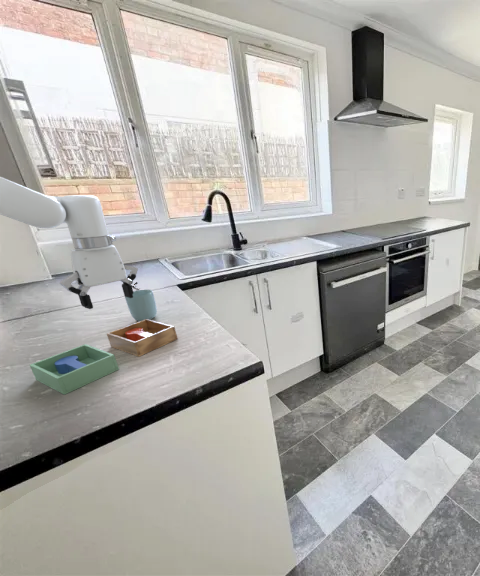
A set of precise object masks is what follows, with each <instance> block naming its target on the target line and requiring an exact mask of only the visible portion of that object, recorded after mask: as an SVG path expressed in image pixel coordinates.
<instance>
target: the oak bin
mask: <svg viewBox="0 0 480 576" xmlns="http://www.w3.org/2000/svg"><path fill="white" fill-rule="evenodd" d="M134 328H143V331H144V332H147V333H151V334H153V335H150V336H148V337H145V338H143V339H140V340H138V341H136V342H135V341H132V340H129V339H127V337H126V334H125V332H126V331H128V330H131V329H134ZM106 336H107V339H108V342H109V345H110V347H111V348H112V349H113V348H114V349H116V350H119V351H121V352H124V353H127V354H130V355H133V356H136V357H138V358H140V357H142V356H144V355H146V354H148V353H150V352H153V351H154V350H155V351H156V350H157V349H159V348H161V347H163V346H166V345H169V344H171V343H173V342H174V341H177V340H178V339H179V338H178V335H177V331H176V328H175V326H174V325H171V324H168V323H163V322H160V321H157V320H153V319H150V320H149V319H145V320H142V321H136V322H134V323H131V324H128V325H126V326H123V327H121V328H118V329H115V330H113V331H110V332H107V333H106Z"/></svg>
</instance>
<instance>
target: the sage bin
mask: <svg viewBox="0 0 480 576" xmlns="http://www.w3.org/2000/svg"><path fill="white" fill-rule="evenodd" d="M68 356H78V359H79V361H80V362H81V363H84V364H86V366H84V367H81V368H79V369H76V370H74V371H72V372H69V373H66V374H59V373H58V371H57V369H56V367H55V364H54V363H55V362H56V361H57V360H59V359H61V358H64V357H68ZM29 368H30V370H31V372H32V374H33V376H34V378H35V380H36V382H37V381H38V382H39V383H41V384H42V385H45V386H47V387H49V388H50V389H52V390H54V391H56V392H58V393H60V394H62V395H67V394H69V393H72V392H73V391H75V390H78V389H80V388H82V387H84V386H86V385H88V384H89V385H90V384H91V383H93V382H95V381H97V380H99V379H102V378H103V377H106V376H109V375H110V374H112V373H114V372H117V371H119V370H120V367H119V365H118V362H117V359H116V355H115V354H113V353H111V352H109V351H106V350H103V349H100V348H97V347H94V346H92V345H91V344H90V345H89V344H87V343H84V344H82V345H79V346H76V347H73V348H71V349H69V350H66V351H63V352H60V353H57V354H55V355H51V356H49V357H46V358H44V359H42V360H39V361H35V362H33V363H31V364H29Z"/></svg>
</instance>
